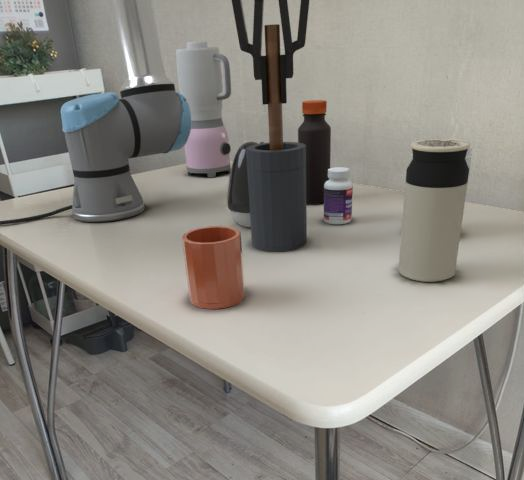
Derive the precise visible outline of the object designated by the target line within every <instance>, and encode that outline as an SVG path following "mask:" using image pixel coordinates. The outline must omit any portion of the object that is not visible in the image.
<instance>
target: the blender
mask: <svg viewBox="0 0 524 480" xmlns="http://www.w3.org/2000/svg"><path fill="white" fill-rule="evenodd" d="M175 57H176V58H175V59H176V72H177V73H176V74H177V81H178V90H179V94H182V95H183V96H184V97H185V98H186V102H188V104H189V108H190V112H191V131H190V135H189V137H188V141H187V142H186V144H185V145H184V146H183V148H184V154H185V155H184V156H185V161H186V172H187V176H191V174H206V175H207V178H216V175H217V173H219V172H224V171H227V173H229V174H230V172H231V168H232V166H231V158H230V153H231V145H230V142H229V141H230V140H229V134H228V130H227V129H226V126H225V124H224V121H223V115H222V114H223V101H224V100H227V99H229V98H230V97H231V95H232V80H231V78H232V77H231V68H230V67H231V66H230V60H229V59H228V57H227V56H226V55H224V54H222V53H220V49H219V47H218V46H210V47H208V42H207V41H206V40H205V41H203V40H202V41H189V42H188V41H187V42H186V48H177V49H176V50H175ZM222 72H223V73H222ZM223 86H224V87H223Z"/></svg>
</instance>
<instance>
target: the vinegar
mask: <svg viewBox="0 0 524 480" xmlns="http://www.w3.org/2000/svg"><path fill="white" fill-rule="evenodd" d="M327 103H328V102H327V100H323V99H312V100H311V99H310V100H304V101H302V102H301V107H302V108H301V111H302V113H301V114H302V117H303V122H302V123H301V124H300V125H299V127H298V129H297V142H298V143H303V144H305V145H306V205H321V204H324V184H325V182H326V181H328V180H329V178H328V169H330V168H331V152H332V151H331V149H332V148H331V147H332V146H331V145H332V143H331V142H332V139H331V137H332V127H331V125H330V124H329V123H328V122H327V121H326V115H327Z"/></svg>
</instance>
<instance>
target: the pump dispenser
mask: <svg viewBox="0 0 524 480" xmlns="http://www.w3.org/2000/svg"><path fill="white" fill-rule="evenodd" d="M261 143H265V141H261V142H259V143H258V142H257V141H247V142H244V143H243V144H241V145H240V146H239V147H238V149H237V150H236V153H235V155H234V157H233V160H232V164H231V169H230V173H229V178H228V185H227V201H226V202H227V203H226V205H227V209H228V210H229V212H230V215H231V217H232V218H233V220H234V221H235V222H236V223H237V224H239V225H240V226H242V227H245V228H250V229H251V223H250V207H249V191H248V175H247V159H246V148H247V147H249V146H251V145H255V144H261Z"/></svg>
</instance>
